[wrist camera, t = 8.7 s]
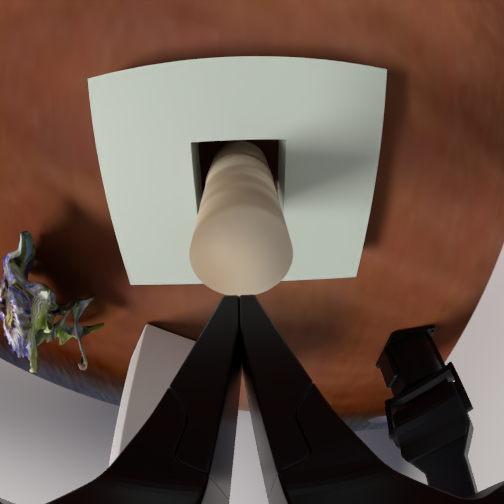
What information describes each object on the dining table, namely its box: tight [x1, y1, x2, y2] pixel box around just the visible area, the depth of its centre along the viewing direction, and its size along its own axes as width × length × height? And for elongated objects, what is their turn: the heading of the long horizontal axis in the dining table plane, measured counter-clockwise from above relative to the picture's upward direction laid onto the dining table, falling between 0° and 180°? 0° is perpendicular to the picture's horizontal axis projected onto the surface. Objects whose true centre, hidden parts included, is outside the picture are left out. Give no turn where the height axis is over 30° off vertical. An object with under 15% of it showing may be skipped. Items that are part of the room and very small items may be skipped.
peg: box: [189, 140, 293, 296], centre depth 14 cm, size 4×4×10 cm
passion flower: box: [0, 231, 105, 373], centre depth 20 cm, size 11×11×12 cm
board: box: [88, 56, 387, 285], centre depth 17 cm, size 16×14×3 cm
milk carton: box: [109, 324, 196, 466], centre depth 21 cm, size 7×7×19 cm
